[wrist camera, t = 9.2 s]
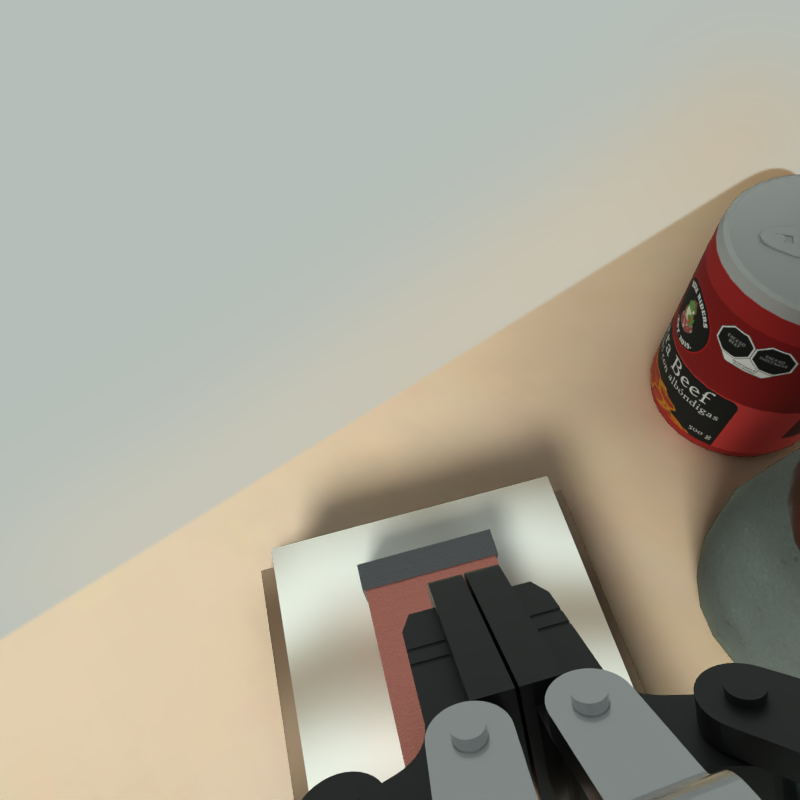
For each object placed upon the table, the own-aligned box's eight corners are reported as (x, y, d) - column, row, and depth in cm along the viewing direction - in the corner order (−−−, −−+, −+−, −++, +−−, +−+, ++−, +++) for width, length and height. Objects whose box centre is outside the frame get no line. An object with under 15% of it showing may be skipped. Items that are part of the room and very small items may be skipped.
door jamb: (802, 1108, 20) (920, 1217, 15) (370, 1259, 19) (343, 1430, 14) (556, 502, 31) (577, 448, 26) (269, 580, 30) (232, 539, 25)
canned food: (634, 335, 36) (702, 174, 26) (785, 333, 35) (911, 167, 26) (659, 462, 32) (750, 327, 22) (829, 462, 31) (996, 323, 22)
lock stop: (646, 986, 18) (489, 529, 25) (463, 1046, 17) (357, 564, 24) (630, 970, 19) (487, 544, 26) (462, 1025, 19) (362, 578, 26)
